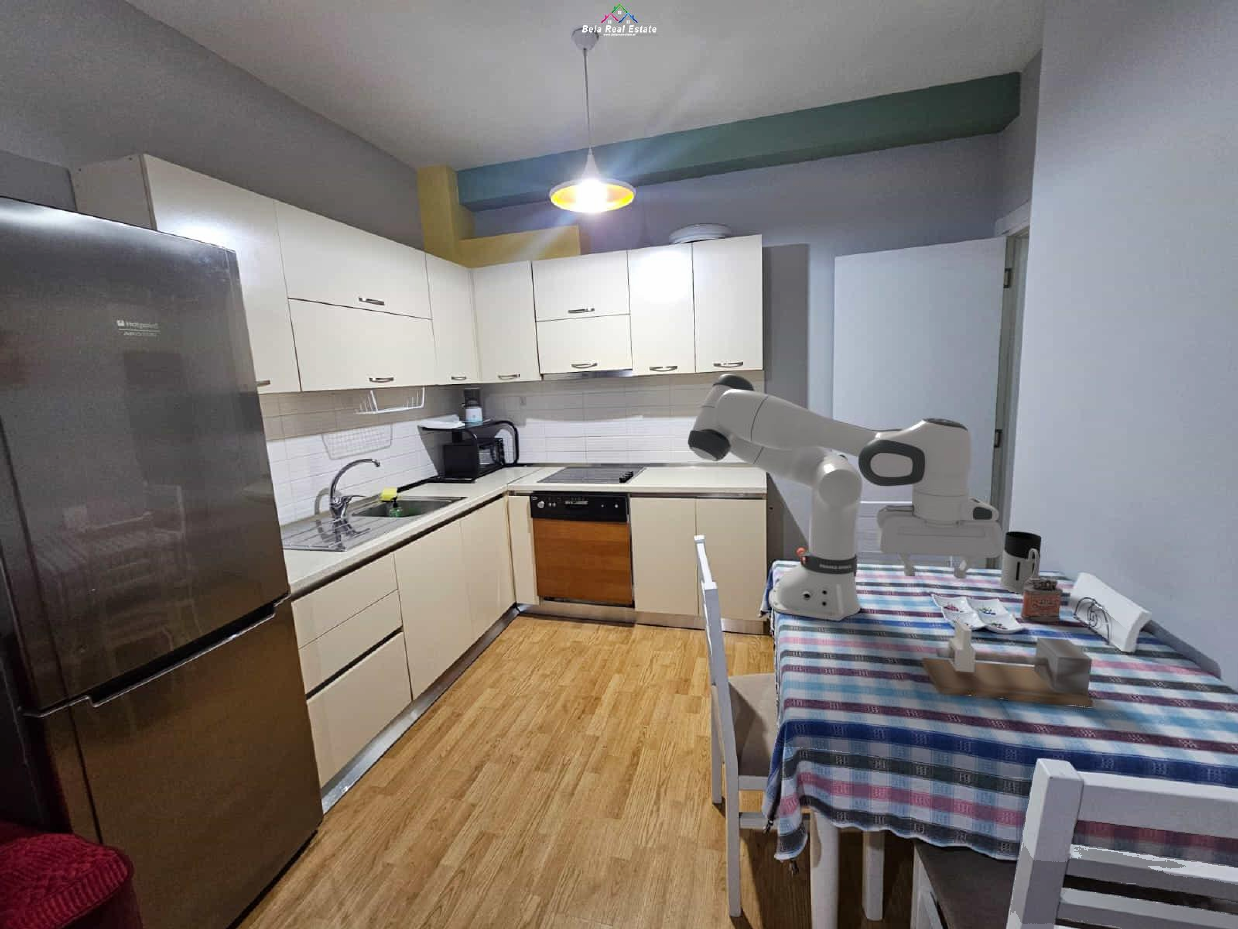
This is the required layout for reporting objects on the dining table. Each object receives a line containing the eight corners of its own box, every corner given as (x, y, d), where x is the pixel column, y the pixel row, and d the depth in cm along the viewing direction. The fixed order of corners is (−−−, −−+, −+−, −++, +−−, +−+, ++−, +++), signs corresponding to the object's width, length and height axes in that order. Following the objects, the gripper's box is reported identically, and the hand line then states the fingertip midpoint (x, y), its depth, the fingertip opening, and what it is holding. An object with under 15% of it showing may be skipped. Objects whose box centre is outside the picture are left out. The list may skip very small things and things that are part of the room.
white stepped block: (955, 670, 97) (959, 629, 96) (947, 658, 101) (950, 619, 100) (973, 672, 97) (977, 631, 95) (964, 659, 101) (967, 620, 99)
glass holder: (1031, 583, 141) (1036, 531, 138) (1054, 606, 128) (1060, 548, 125) (993, 580, 144) (997, 529, 141) (1012, 602, 131) (1017, 546, 128)
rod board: (939, 693, 96) (942, 651, 95) (922, 664, 106) (924, 626, 104) (1091, 708, 90) (1097, 664, 89) (1058, 676, 100) (1063, 635, 98)
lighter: (1052, 614, 124) (1057, 575, 122) (1063, 621, 120) (1067, 581, 119) (1017, 614, 124) (1020, 575, 123) (1026, 621, 121) (1030, 581, 119)
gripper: (882, 509, 95) (878, 579, 97) (1009, 511, 89) (1002, 586, 92) (873, 500, 101) (871, 567, 103) (993, 502, 96) (987, 573, 98)
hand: (934, 576), depth 97 cm, fingers open, 7 cm apart
